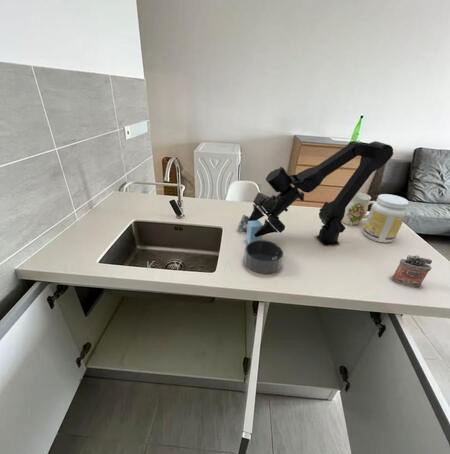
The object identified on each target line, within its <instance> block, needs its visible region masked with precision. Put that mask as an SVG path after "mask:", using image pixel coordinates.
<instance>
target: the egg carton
mask: <svg viewBox="0 0 450 454" xmlns="http://www.w3.org/2000/svg"><path fill="white" fill-rule="evenodd" d="M249 217H250V216H248V215H246V214H245V213H243V215H242V216H241V219H240V221H239V223H238V233H240V234H241V233H244V232H247V225H248V224H247V221H248V219H249ZM258 220H259V221H260V219H258ZM256 221H257V220H256Z"/></svg>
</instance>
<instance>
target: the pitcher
mask: <svg viewBox="0 0 450 454" xmlns="http://www.w3.org/2000/svg"><path fill="white" fill-rule="evenodd" d="M371 199H372V197H371V195H369V194H367V193H365V192H361V191H358V192H357V193H356V195H355V196H354V197H353V199H352V200H351V201H350V203H349V204H348V205H347V207H346V209H345V214H344V217H343V219H342V221H341V223H343V224H346V225H349V226H355V225H357V224H359V223H361V221H363V220H364V219H367V218H368V215H369V213H368V209H369V206H370V205H373V203H374V202H376V200H371ZM367 213H368V214H367Z"/></svg>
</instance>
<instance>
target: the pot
mask: <svg viewBox="0 0 450 454" xmlns="http://www.w3.org/2000/svg"><path fill="white" fill-rule="evenodd" d="M283 258H284V251H283V249H282V247H281V246H279V245H278V244H277V243H274V242H272V241H269V240H264V239H261V240H258V241H253V242H250V243H249V244H248V243H247V244H246V245H245V248H244V256H243V262H244V265H245V267H246V268H247V269H248V270H250V271H251V272H253V273H255V274H258V275H272V274H275V273H278V271H279V270H280V269H281V266H282V261H283Z"/></svg>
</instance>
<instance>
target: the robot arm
mask: <svg viewBox="0 0 450 454" xmlns="http://www.w3.org/2000/svg"><path fill="white" fill-rule="evenodd" d="M393 155H394V148H393V146H392V145H390V144H387V143H384V142H381V141H377V140H376V141H375V140H374V141H372V142H362V141H357V140H351V141H350V142H348V143H347V145H345V146H344V147H342V148H341V149H339V150H338V151H336V152H334V154H332V155H331V156H329V157H327V158H326V159H324V161H322V162H321V163H319V164H317V165H315V166H312V167H309V168H306V169H304V170H301V171H300V172H298V173H296V174H288V173H287V171H286V169H285V168H284V167H283V166H280V167H279V168H275V169H274V170H272V171H270V172H269V173H268V174H267V175H266V178H265V181H266V182H267V183H268V185H269V186H270V187H271V188H272V189H273V190H274V192H275V193H278V194H277V195H274V194H273V195H271V196H268V195H266V194H265V193H261V192H258V193H257V194H256V195H255V198H254V200H253V201H252V202H253V204H252V207H253V209H252V212H251V214H250V215H249V216H248V217H249V219H248V221H256V220H258V219H259V220H260V219H262V218H264V216H265V215H266V217H267V218H265V219H264V223H263V224H262V225H263V226H262V227H261V228H260V229H259V230H258V231H257V232H256V233H255V235H254V236H255V237H258V236H266V235H268V234H273V233H280V234H282V232H284V231H285V230H286V225H285V224H284V223H283V222H282V221H281V220H280V217H279V216H280V215H281V214H283V212H285V213H286V212H288V211H289V209H288V208H289V207H290V206H291V205H293V203H295V202H296V201H297V200H300V201H301V202H304V200H305V193H307V194H308V193H311V192H313V191H314V190H316V188H318V187H319V186H320V185H321V184H322V182H323V181H324V179H326V177H328V176H329V175H331V174H332V173H334V172H335V171H337V170H339V168H341V167H343V166H344V165H346V164H347V163H350V161H352V160H354V159H355V158H356V157H360V160H359V165H358V167H357V168H356V169H355V170H354V172H353V173H352V175H351V176H350V178H349V179H348V180H347V181H346V183H345V184H344V186H343V187H342V188H341V190H340V191H339V192H338V193H337V195H336V197H335V198H334V199H333V200H332V201H330V202H328V201H325V202H324V204H323V205H322V207H321V208H319V212H318V218H319V219H320V220H321V223H322V224H323V225H321V229H319V232H318V235H316V238H317V239H318V240H319V241H320V242H321V244H322V245H324V246H335V245H337V246H338V245H340V242H339V241H338V240H339V236H340V233H341V234H342V233H344V232H345V230H346V227H345V225H344V223H343V222H342V219H343V217H344V214H345V209H346V207H347V205H348V204H349V203H350V201H351V200H352V199H353V197H354V196H355V195H356V193H357V192H360V189H362V187H363V186H364V184H365V183H366V182H367V181H368V179H369V178H370V176H371V175H372V174H373V173H374V172H376V171H377V170H379V169H381V168H383V167H384V166H385V165H386V164H387V163H388V162H389V161H390V160H391V159H392V157H393ZM248 221H247V224H248Z"/></svg>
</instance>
